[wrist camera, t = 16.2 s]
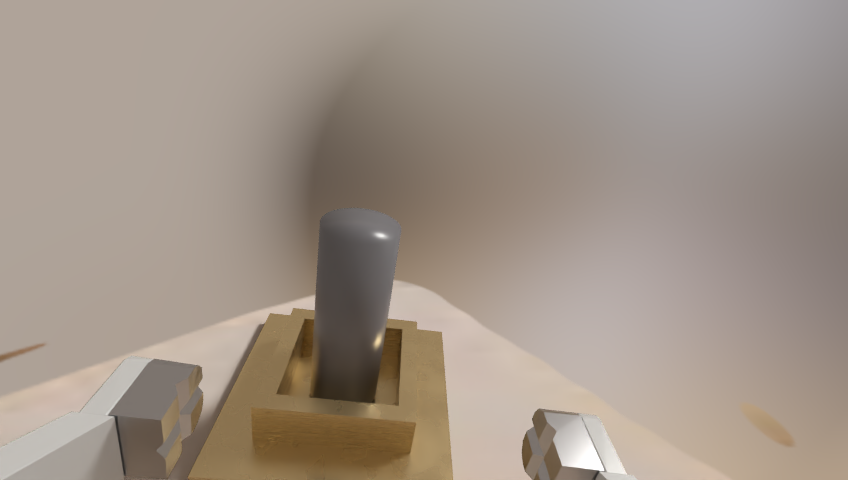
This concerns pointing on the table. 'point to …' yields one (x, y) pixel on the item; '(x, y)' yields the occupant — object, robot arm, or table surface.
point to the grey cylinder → (352, 302)
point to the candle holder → (332, 413)
